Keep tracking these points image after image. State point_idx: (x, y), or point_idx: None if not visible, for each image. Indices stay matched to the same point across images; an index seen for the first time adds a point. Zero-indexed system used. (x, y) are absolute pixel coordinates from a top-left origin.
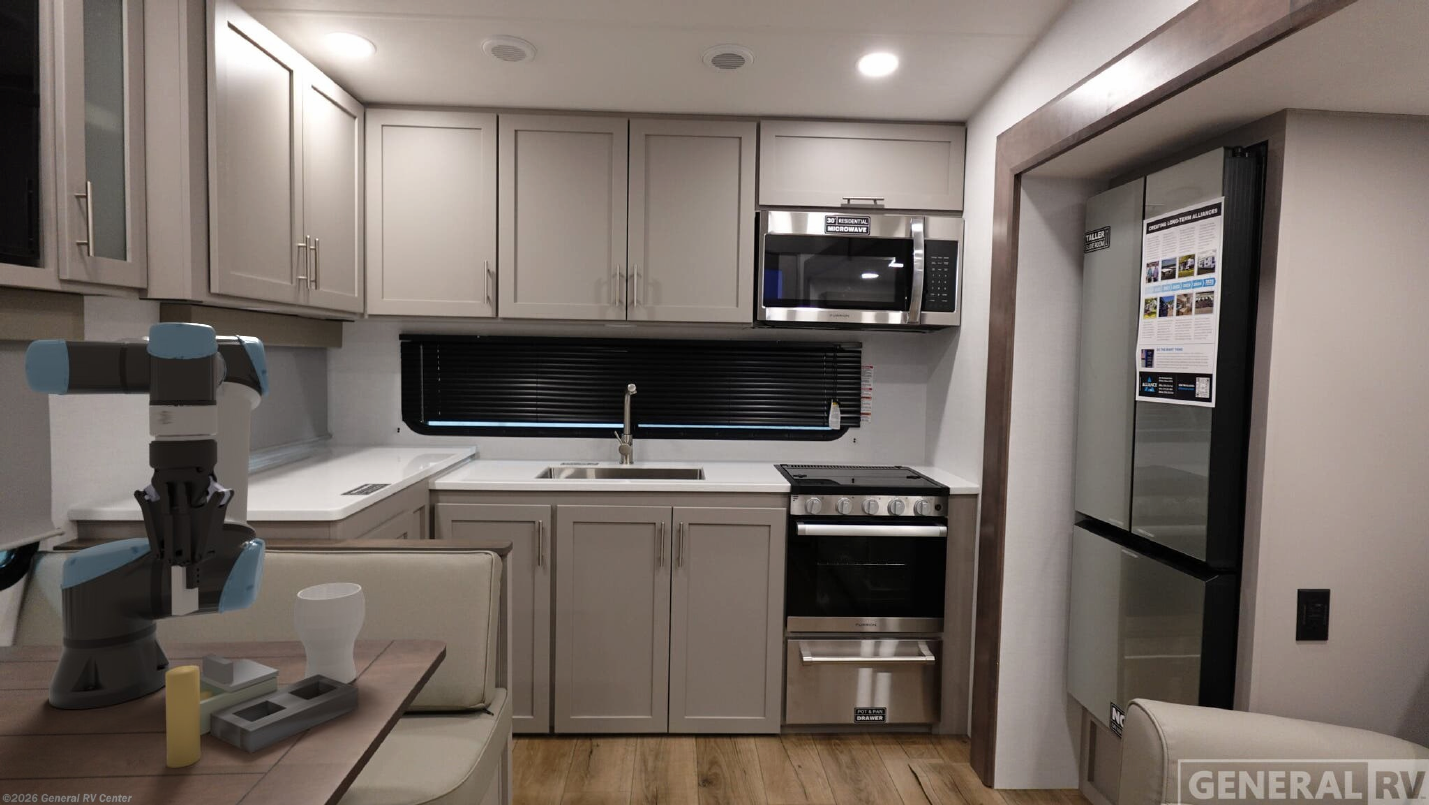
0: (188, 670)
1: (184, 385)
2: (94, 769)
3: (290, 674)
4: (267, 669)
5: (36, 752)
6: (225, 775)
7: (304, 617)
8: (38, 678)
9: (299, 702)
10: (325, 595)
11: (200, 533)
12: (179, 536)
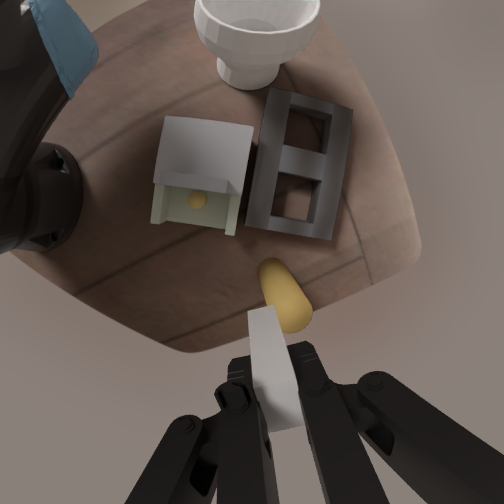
0: (299, 311)
1: None
2: (206, 312)
3: (183, 70)
4: (234, 129)
5: (123, 310)
6: (334, 274)
7: (261, 56)
8: None
9: (322, 162)
10: None
11: (410, 483)
12: (273, 497)
